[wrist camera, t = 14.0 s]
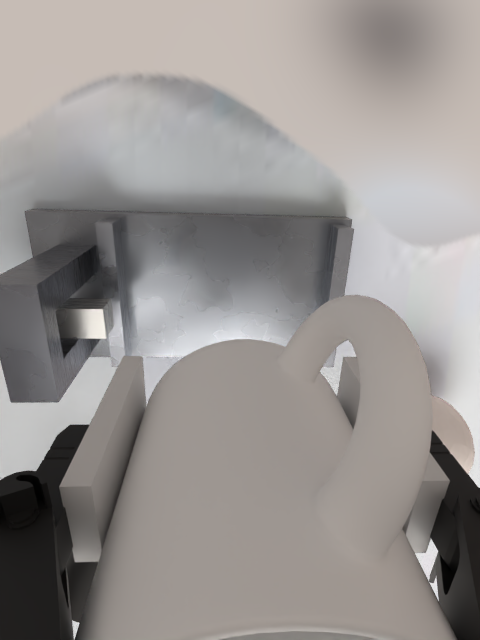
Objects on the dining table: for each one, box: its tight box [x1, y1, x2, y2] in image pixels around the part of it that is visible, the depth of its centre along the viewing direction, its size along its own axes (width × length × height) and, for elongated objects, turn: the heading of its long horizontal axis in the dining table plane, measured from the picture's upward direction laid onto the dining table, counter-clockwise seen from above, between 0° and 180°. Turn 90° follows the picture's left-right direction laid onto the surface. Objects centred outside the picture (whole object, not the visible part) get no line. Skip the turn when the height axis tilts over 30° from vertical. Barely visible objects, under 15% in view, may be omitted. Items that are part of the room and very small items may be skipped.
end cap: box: [66, 551, 98, 623], centre depth 34 cm, size 10×7×7 cm
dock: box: [0, 209, 354, 403], centre depth 23 cm, size 22×11×10 cm, turn 88°
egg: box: [431, 395, 475, 474], centre depth 30 cm, size 6×6×8 cm
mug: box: [75, 295, 457, 640], centre depth 11 cm, size 12×8×10 cm
